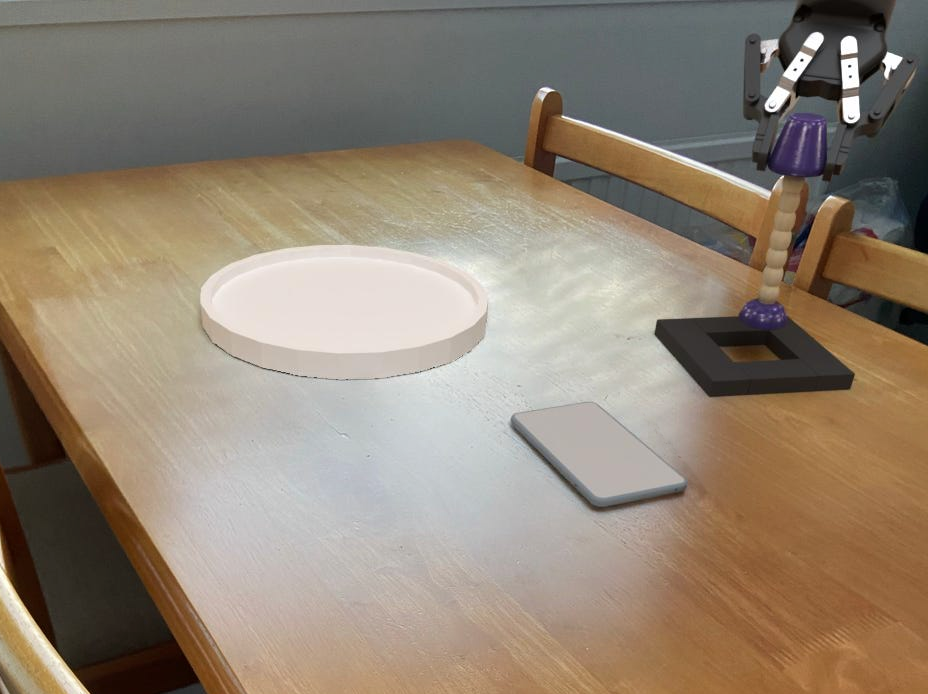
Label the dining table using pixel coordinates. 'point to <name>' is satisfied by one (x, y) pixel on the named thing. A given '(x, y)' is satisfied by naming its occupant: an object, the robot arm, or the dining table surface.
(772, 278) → the toy lamp
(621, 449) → the smartphone
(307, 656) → the dining table surface
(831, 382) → the square frame
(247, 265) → the plate
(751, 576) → the dining table surface
